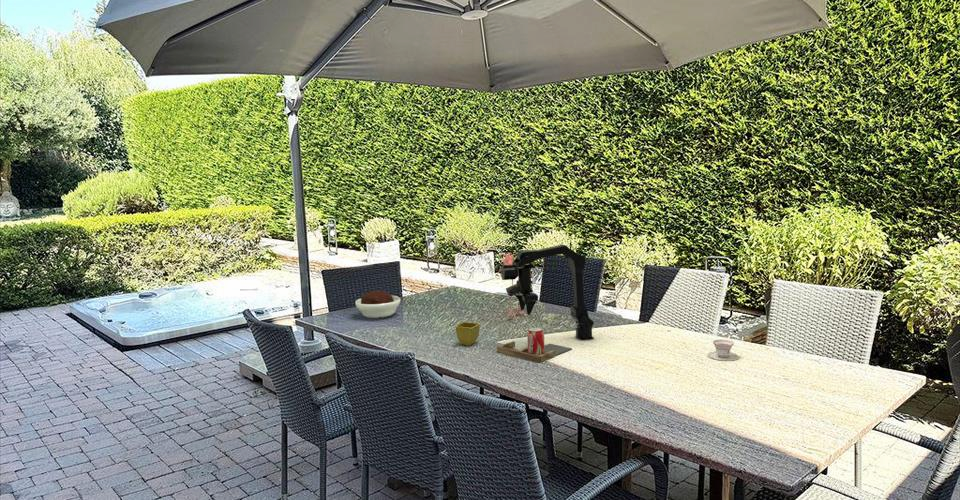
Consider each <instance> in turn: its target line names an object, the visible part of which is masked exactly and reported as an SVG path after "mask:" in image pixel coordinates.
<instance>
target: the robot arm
mask: <svg viewBox="0 0 960 500" xmlns="http://www.w3.org/2000/svg"><path fill="white" fill-rule="evenodd" d="M559 255H562V256H563V257H565V259H567V261H568V264H569V268H570V271H571V272H572V283H573V284H572V286H573V305H572V306H570V307H569V308H570V314H569V315H570V316H571V317H572V319H573V320H574V321H575V324H576V327H575V338H577V339H579V340H580V341H581V340H582V341H585V340H592V339H594V337H593V326H594V323H595V322H594V321H593V320H592V318H590V315H589V312H588V309H587V306H586V304H585V291H584V271H585V268H586V261H587V259H586V257H585V256H584V255H583V254H581V253H578V252H576V251H574V250H573V249H571V248H570V247H569V246H568V245H565V244H559V245H555V246H554V245H553V246H549V247H545V248H538V249H520V250H519V251H517V252H516V255H515V256H516V257H515V259H513V260H514V261H513V263H512V265H504V264H502V267H501V269H502V270H501V269H500V270H501V271H500V276H501V280H502V281H507V280H508V281H509V280H510V281H512V279H513V280H516V279H517V280H516V283H515V284H513V285H512V284H511V285H509V286H508V287H506V288H505V290H506V293H507V296H509V297H511V298H512V297H513V296H514V297H515V298H516V299H517V301H518V304H519V306H520V308H521V311H520V312H522V311H523V312H524V310H525V309H526V313H527V316H531V315H532V314H531V313H532V312H533V309H534V308H535V305H536V303H537V302H538V300H539V295H538V294H537V293H535V292H534V289H532V284H533V280H532V269H536V266H535V265H534V262H536V261H537V260H540V259H545V258H550V257H555V256H559ZM525 264H528V265H525Z"/></svg>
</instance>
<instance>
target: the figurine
mask: <svg viewBox="0 0 960 500" xmlns="http://www.w3.org/2000/svg"><path fill="white" fill-rule="evenodd" d="M504 256H505V257H504V258H503V259H502V265H512V263H513V261H514V260H515V259H514V254H510V252H508V253H505V255H504ZM525 265H528V264H525ZM501 270H502V268H500V270H499V271H498V272H497V273H496V274H495V275H496V276H498V275H499V273H501ZM512 285H514V279H512V280H511V286H512ZM510 305H511V306H510V312H509V314H508V315H507V316H506V317H507V318H506V320H508V319H509V318H510V316H511V313H512V315H513V317H514V319H515V321H517V320H518V319H517V317H516V315H519V314H520V312H522V315H523V316H524V317H526V313H524V310H523V311H521V308H520V305H519V306H518V307H517V309H516V312H515V313H516V315H515V313H514V311H513V310H514V308H513V299H511V304H510ZM501 315H504V313H503V314H500V315H498V317H500V316H501ZM530 315H532V312H531V314H530ZM494 319H495V320H496V321H497V319H496V318H494Z"/></svg>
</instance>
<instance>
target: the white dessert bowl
mask: <svg viewBox="0 0 960 500" xmlns="http://www.w3.org/2000/svg"><path fill="white" fill-rule="evenodd" d="M400 303H401V298H400V297H399V296H397V295H392V294H390V293H389V292H388V293H387V291H386V290H371V291H369V292H365V293H364V294H363V295H362V296H361V298H358V299H356V300H355V306H356V308H357V309H358V310H359V311H360V313H361V314H362V316H363V317H365V318H371V319H380V318H379V317H382V318H386V317H389V316H392V315H393V314H395V312H396V310H397V308H398V307H399V305H400Z"/></svg>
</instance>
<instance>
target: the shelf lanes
mask: <svg viewBox="0 0 960 500" xmlns="http://www.w3.org/2000/svg"><path fill="white" fill-rule="evenodd" d="M514 348H516V341H513V340H512V341H509V342H507V343H504V344H500V345H498V346H496V353H497V354H498V353H499V354H502V355H505V356H511V357H514V358H519V359H522V360H527V361H530V362H534V363H537V364H541V363H543V362H545V361H547V360H550V359H552V358H555V357H556V356H555V351H554V350H552V351H550V352H547V353H545V354H542V355H539V356H538V355H533V354H529V353H528V346H527V347H525V348H522V349H518V350H516V349H514Z"/></svg>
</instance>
